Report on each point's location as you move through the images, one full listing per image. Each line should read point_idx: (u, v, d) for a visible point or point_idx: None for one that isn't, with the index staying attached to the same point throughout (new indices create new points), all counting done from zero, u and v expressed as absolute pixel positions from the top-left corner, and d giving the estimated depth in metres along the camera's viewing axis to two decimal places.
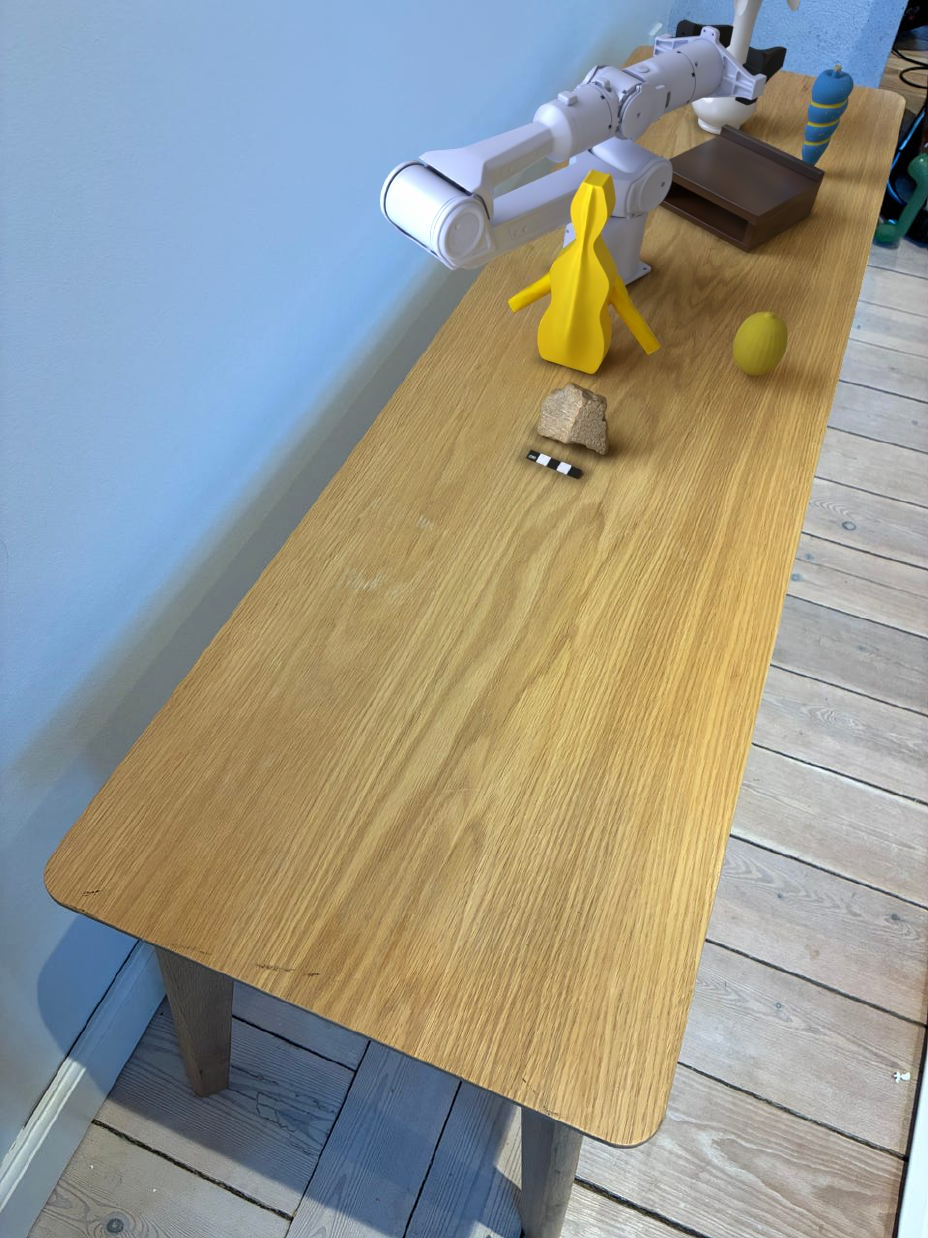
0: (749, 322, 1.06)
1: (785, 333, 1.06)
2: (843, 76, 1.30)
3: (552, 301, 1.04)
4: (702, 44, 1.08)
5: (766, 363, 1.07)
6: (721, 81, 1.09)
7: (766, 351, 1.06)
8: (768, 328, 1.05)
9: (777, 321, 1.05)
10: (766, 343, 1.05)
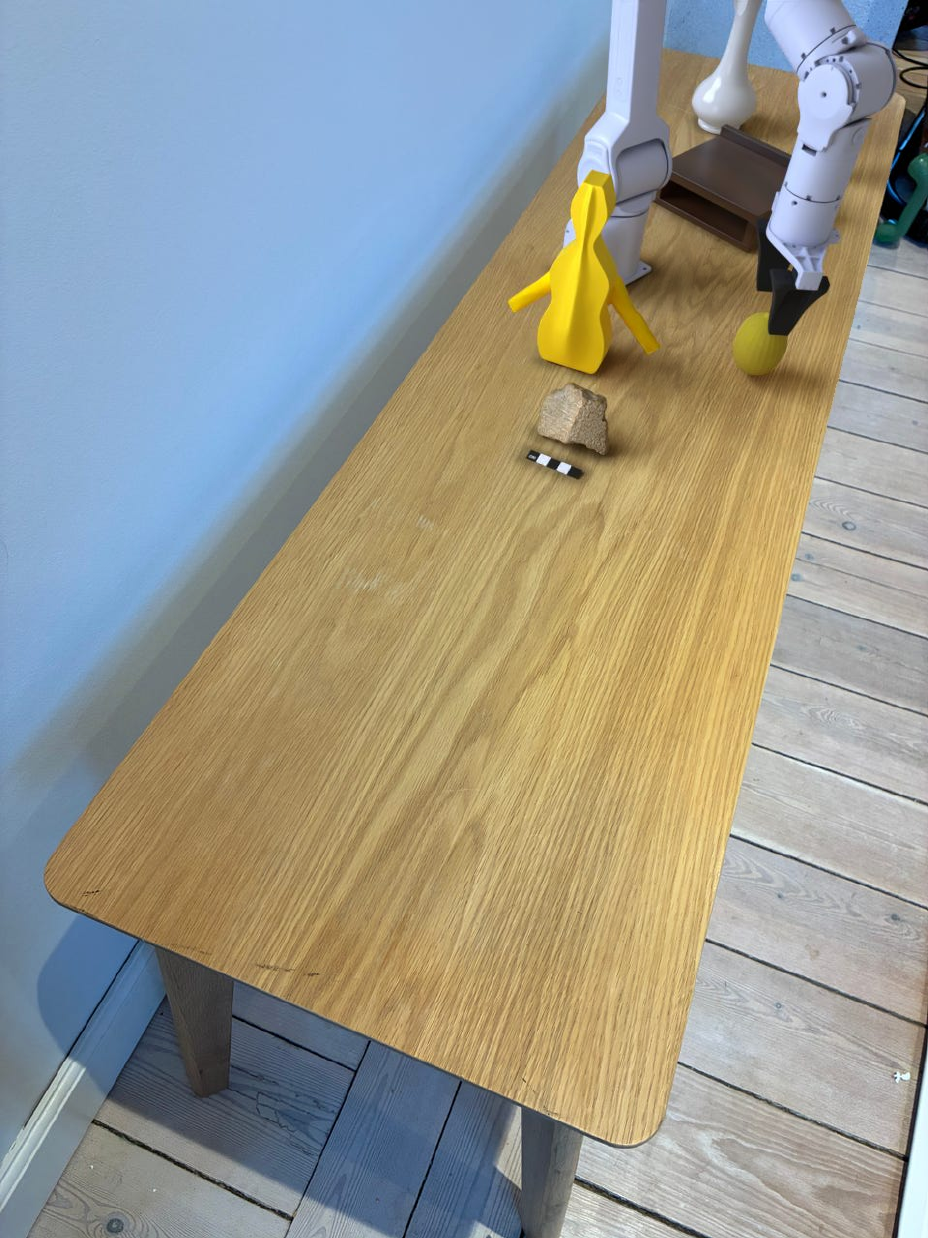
0: (749, 322, 1.06)
1: None
2: None
3: (552, 301, 1.04)
4: None
5: (766, 363, 1.07)
6: (799, 246, 0.96)
7: (766, 351, 1.06)
8: None
9: None
10: (766, 343, 1.05)
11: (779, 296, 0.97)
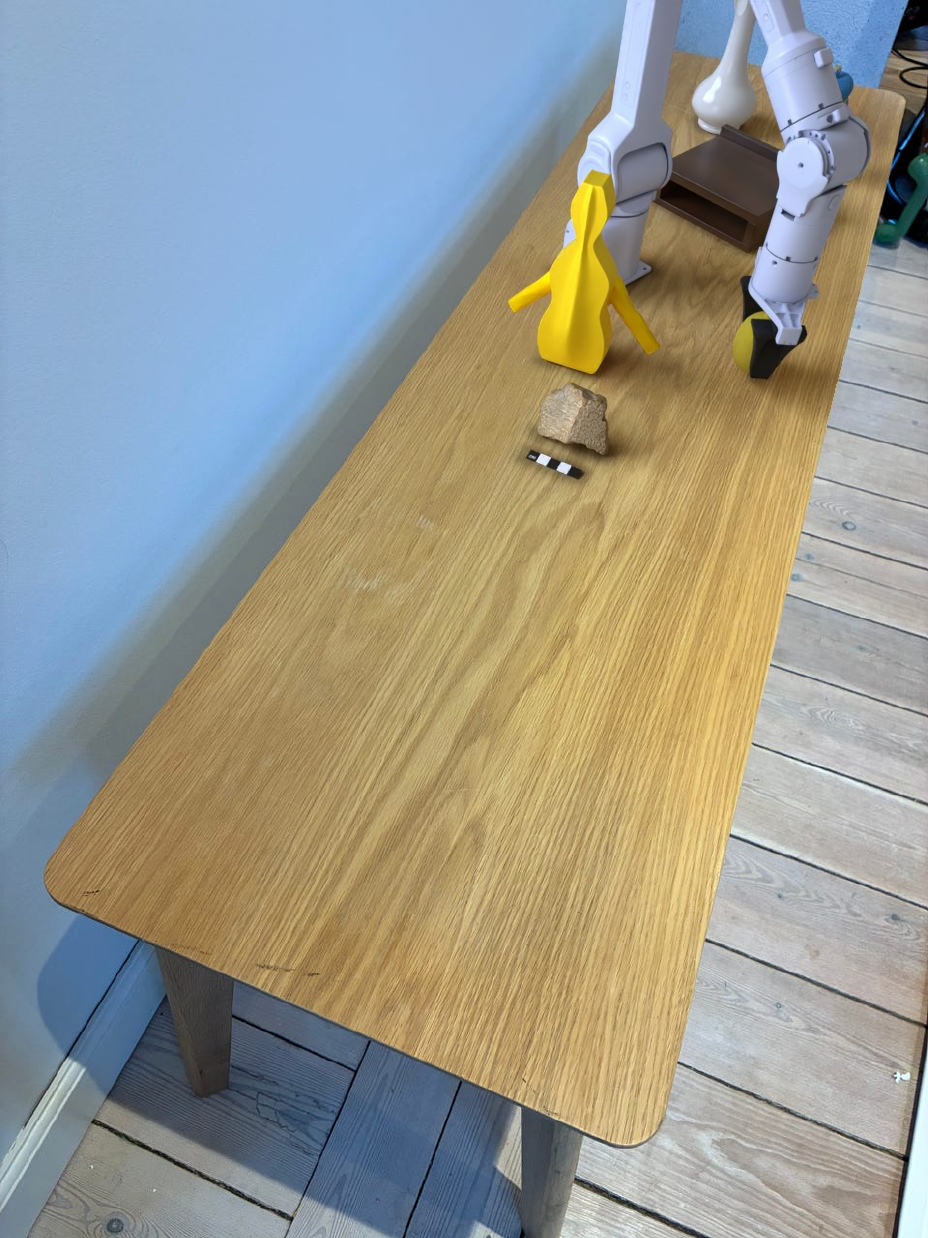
0: (749, 322, 1.06)
1: None
2: (843, 76, 1.30)
3: (552, 301, 1.04)
4: None
5: None
6: (780, 302, 1.01)
7: None
8: None
9: None
10: None
11: (759, 344, 1.02)
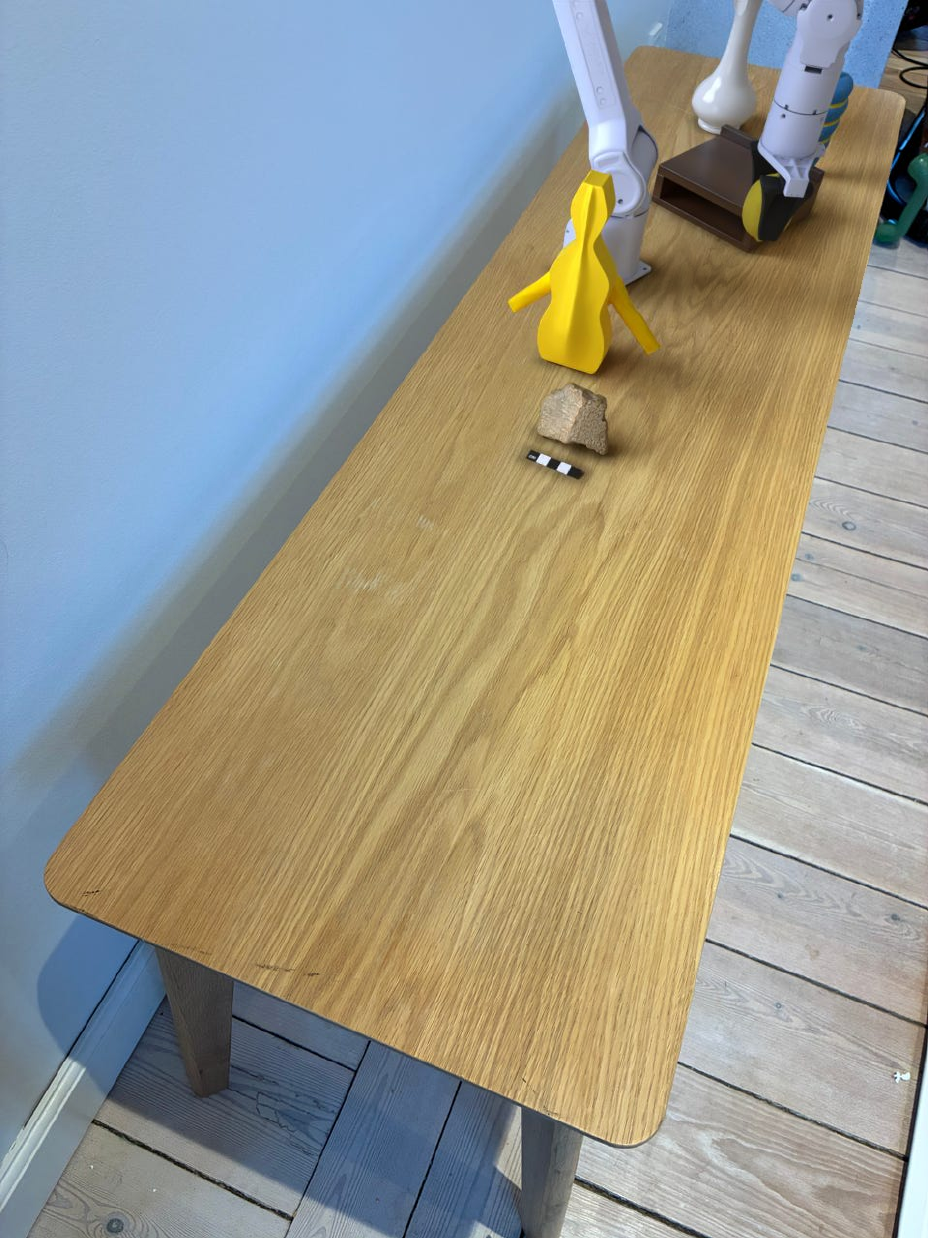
0: (758, 183, 1.09)
1: None
2: (843, 76, 1.30)
3: (552, 301, 1.04)
4: None
5: None
6: (788, 157, 1.04)
7: None
8: None
9: None
10: None
11: (767, 200, 1.06)
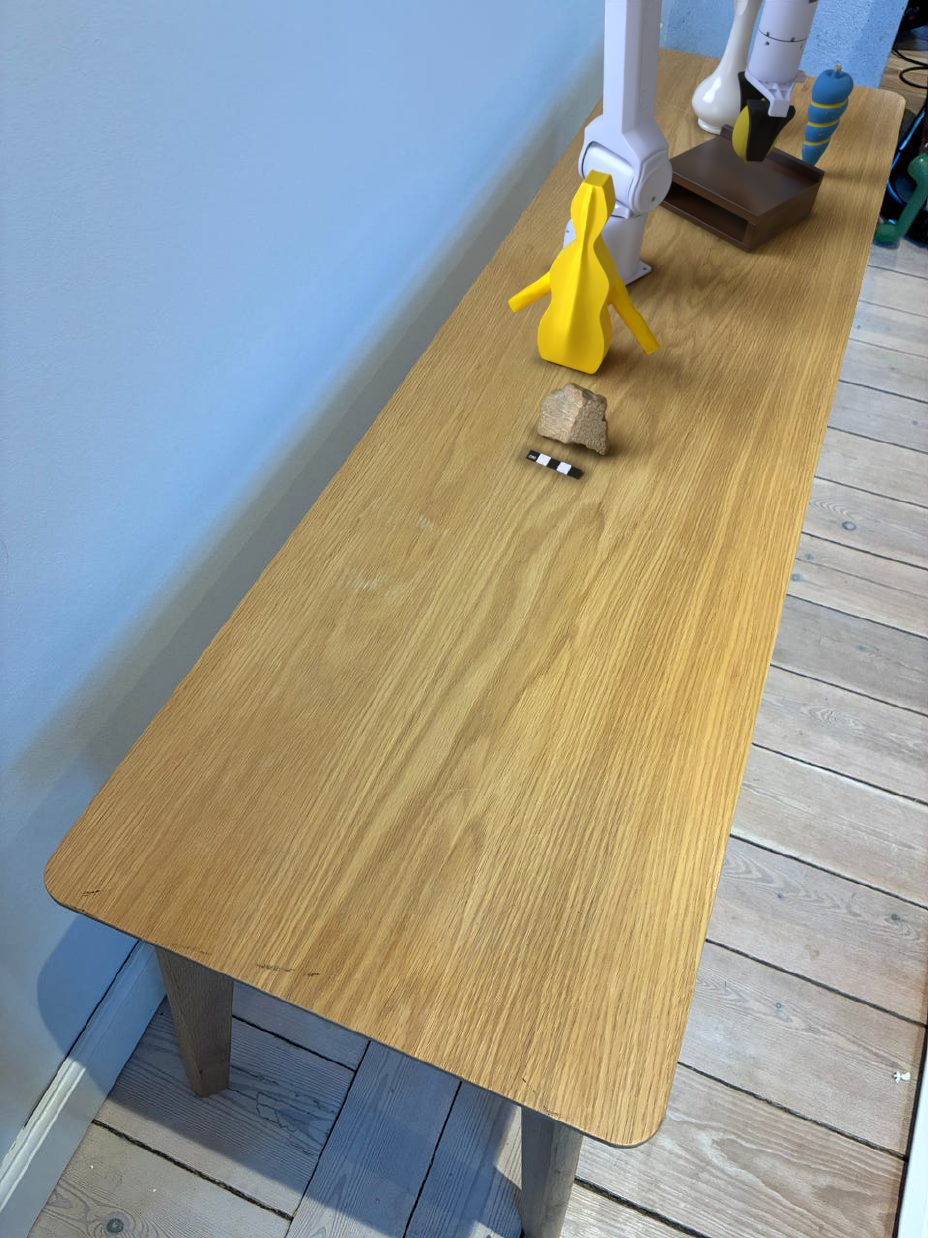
0: (746, 108, 1.22)
1: None
2: (843, 76, 1.30)
3: (552, 301, 1.04)
4: None
5: None
6: (772, 82, 1.16)
7: None
8: None
9: None
10: None
11: (754, 122, 1.18)
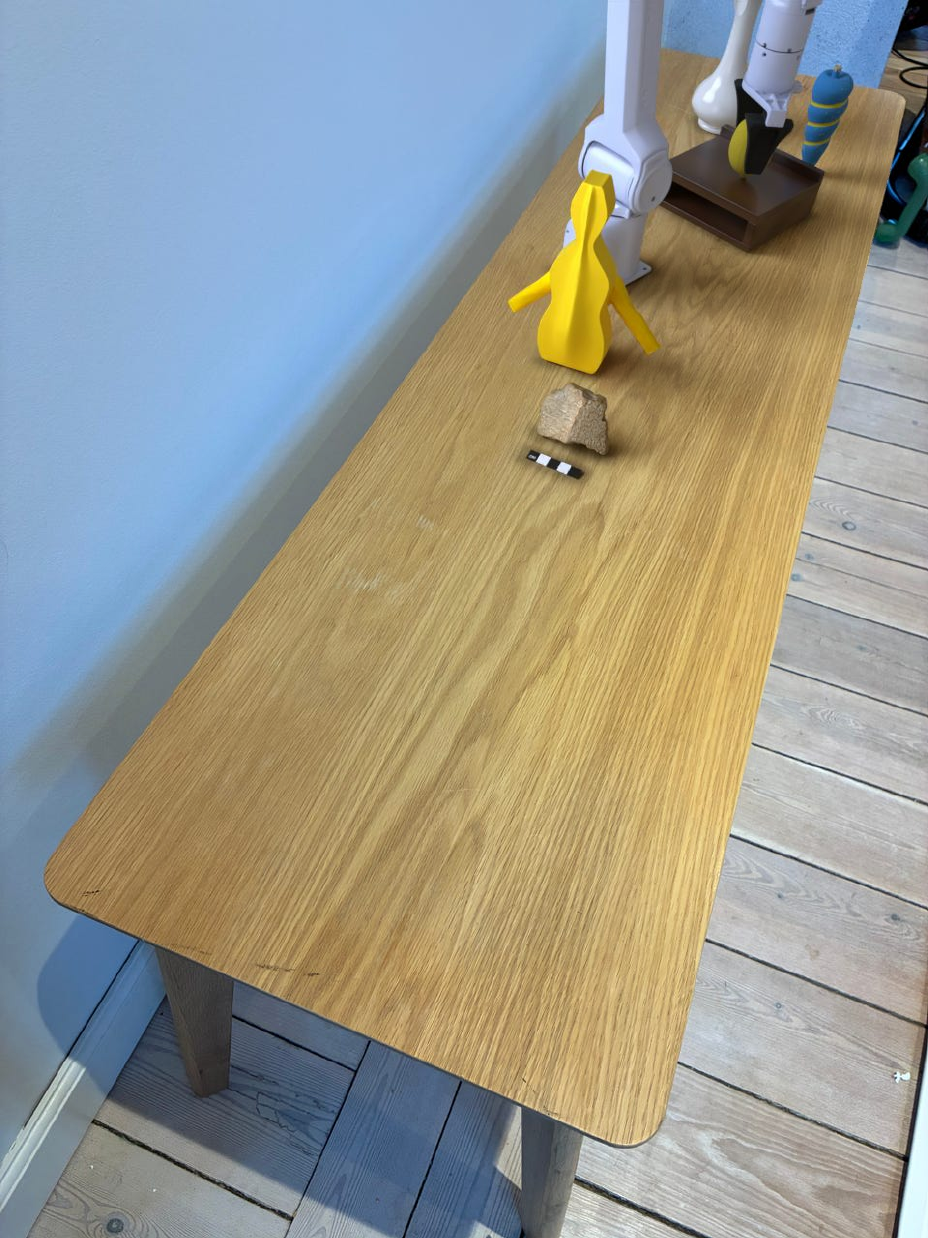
0: (742, 124, 1.23)
1: None
2: (843, 76, 1.30)
3: (552, 301, 1.04)
4: None
5: None
6: (769, 92, 1.17)
7: None
8: None
9: None
10: None
11: (752, 135, 1.19)
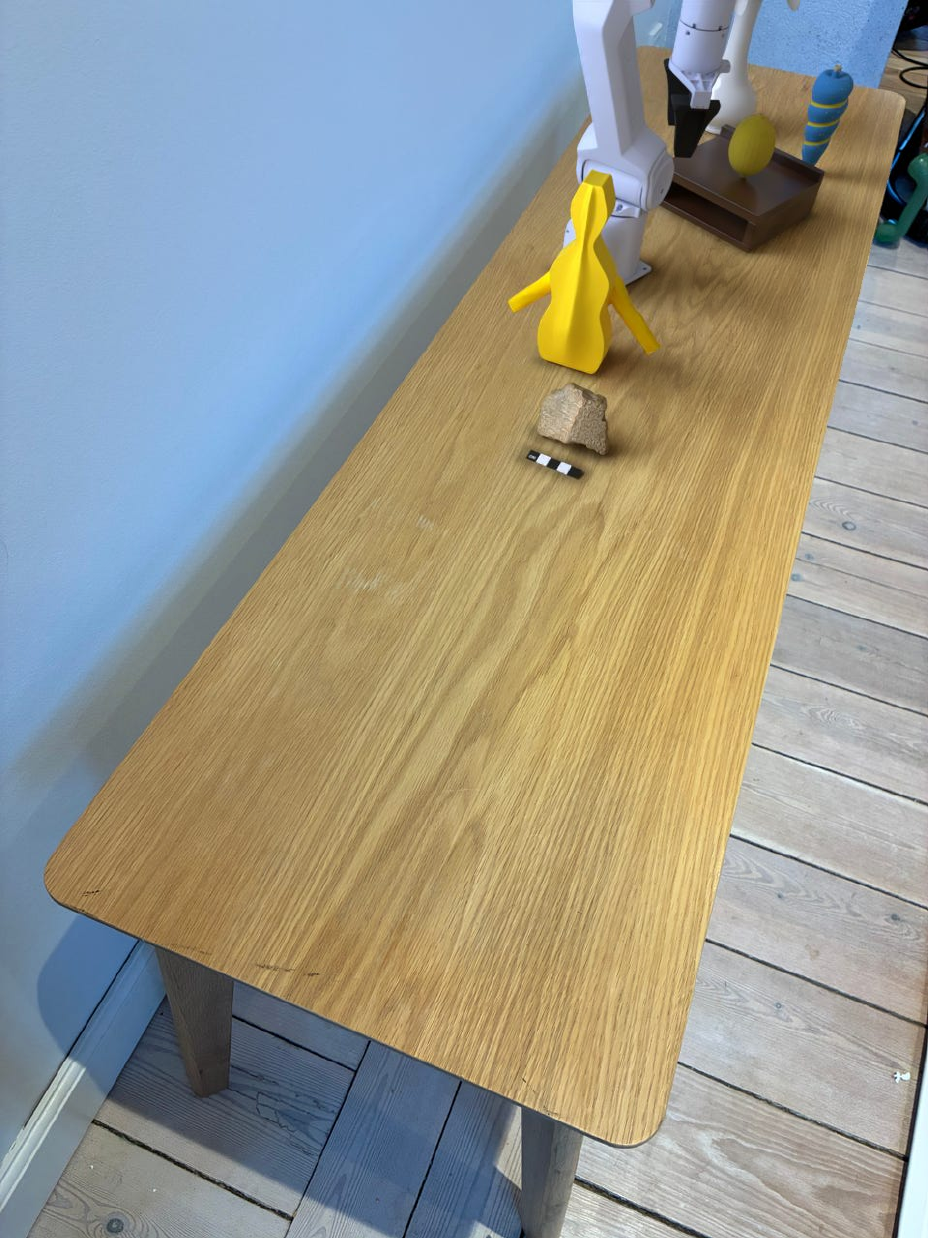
0: (742, 124, 1.23)
1: (773, 133, 1.23)
2: (843, 76, 1.30)
3: (552, 301, 1.04)
4: (723, 52, 1.14)
5: (757, 160, 1.24)
6: (694, 72, 1.13)
7: (757, 148, 1.23)
8: (759, 127, 1.22)
9: (767, 121, 1.22)
10: (757, 140, 1.22)
11: (679, 117, 1.15)
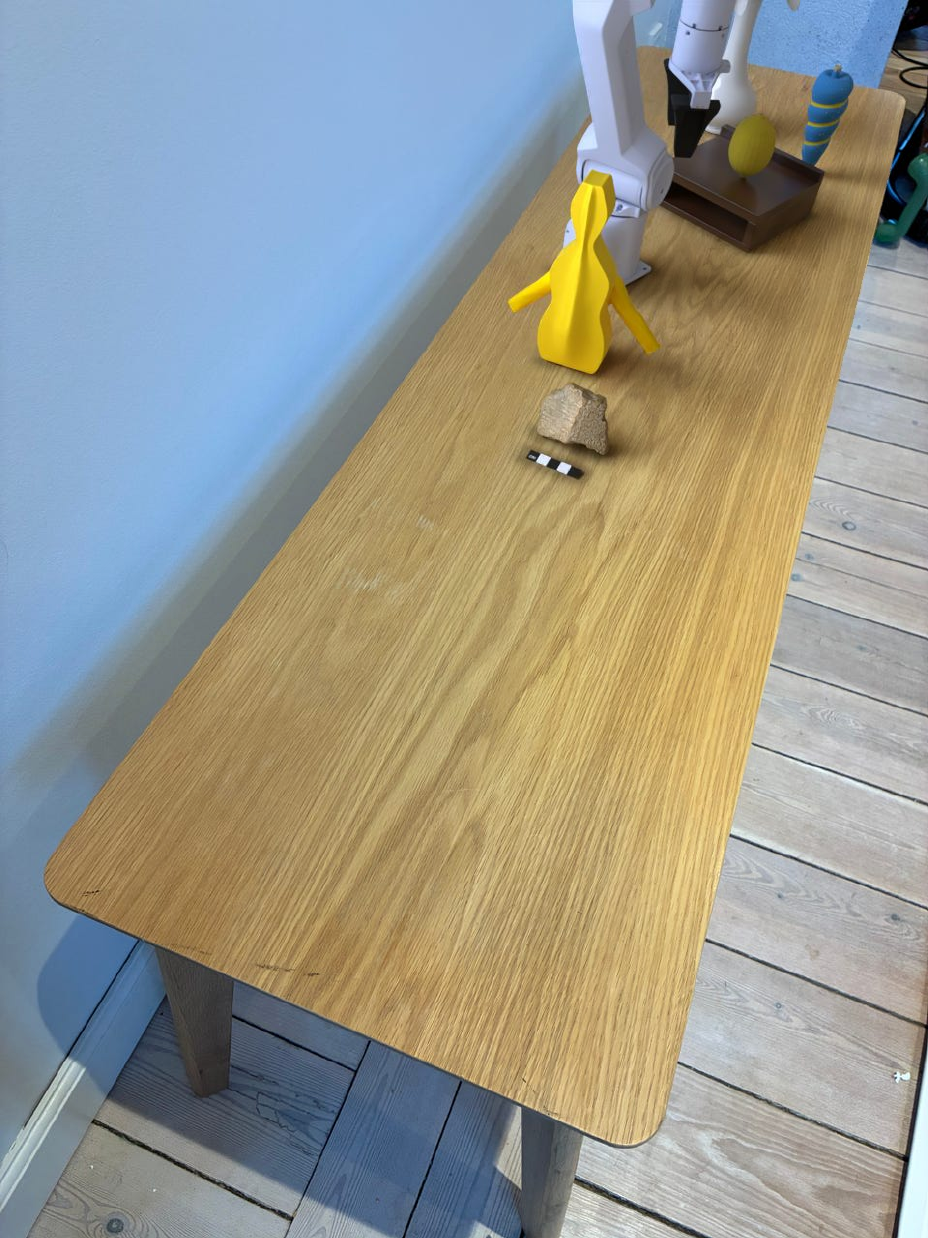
0: (742, 124, 1.23)
1: (773, 133, 1.23)
2: (843, 76, 1.30)
3: (552, 301, 1.04)
4: (723, 52, 1.14)
5: (757, 160, 1.24)
6: (694, 72, 1.13)
7: (757, 148, 1.23)
8: (759, 127, 1.22)
9: (767, 121, 1.22)
10: (757, 140, 1.22)
11: (679, 117, 1.15)
